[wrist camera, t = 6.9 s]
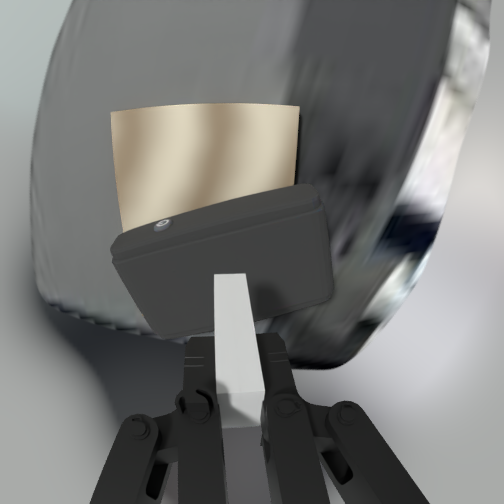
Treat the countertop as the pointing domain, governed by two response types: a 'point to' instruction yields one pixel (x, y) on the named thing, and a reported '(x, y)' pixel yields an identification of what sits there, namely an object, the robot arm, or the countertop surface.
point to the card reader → (228, 259)
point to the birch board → (199, 156)
